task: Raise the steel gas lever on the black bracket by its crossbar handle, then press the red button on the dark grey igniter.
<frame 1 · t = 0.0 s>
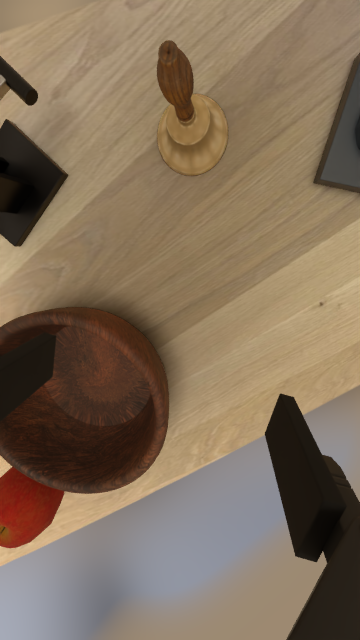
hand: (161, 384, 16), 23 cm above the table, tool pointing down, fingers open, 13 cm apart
hand bell: (192, 137, 33), on the table
apple: (52, 462, 50), on the table
wooden bowl: (98, 373, 44), on the table
bracket: (16, 188, 37), on the table
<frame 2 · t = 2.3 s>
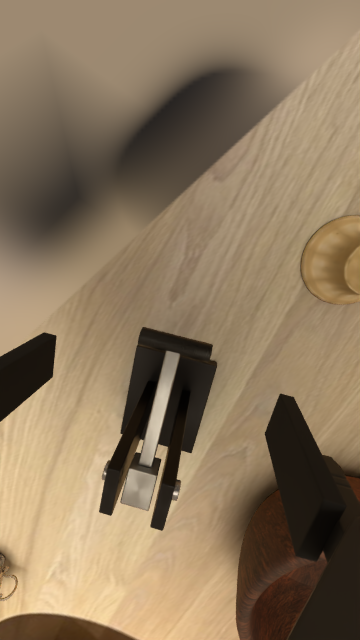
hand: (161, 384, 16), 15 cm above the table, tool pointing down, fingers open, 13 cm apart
hand bell: (345, 261, 27), on the table
wooden bowl: (329, 532, 36), on the table
lever: (157, 417, 22), point 11 cm above the table, hinge at -15.0°
bracket: (167, 396, 33), on the table
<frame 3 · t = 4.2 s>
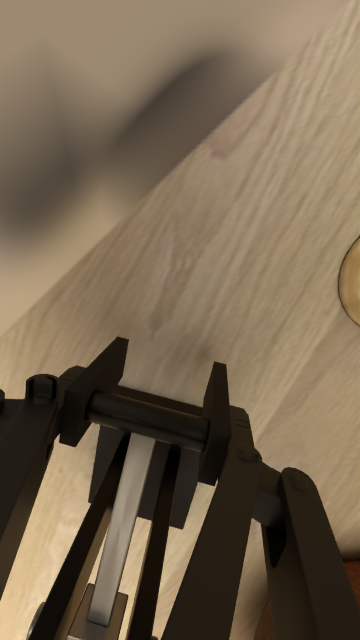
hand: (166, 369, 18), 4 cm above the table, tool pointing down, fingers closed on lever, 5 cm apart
lever: (118, 538, 13), point 11 cm above the table, hinge at -15.0°, touching gripper
bracket: (149, 454, 25), on the table
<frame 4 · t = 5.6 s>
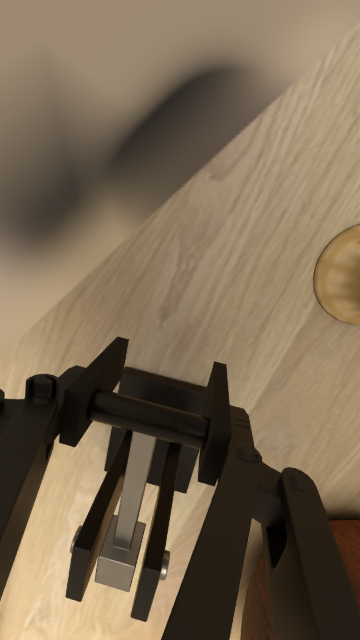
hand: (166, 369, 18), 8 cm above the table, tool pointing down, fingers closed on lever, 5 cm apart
wooden bowl: (344, 581, 32), on the table
lever: (132, 498, 15), point 13 cm above the table, hinge at 6.4°, touching gripper
bracket: (157, 428, 29), on the table
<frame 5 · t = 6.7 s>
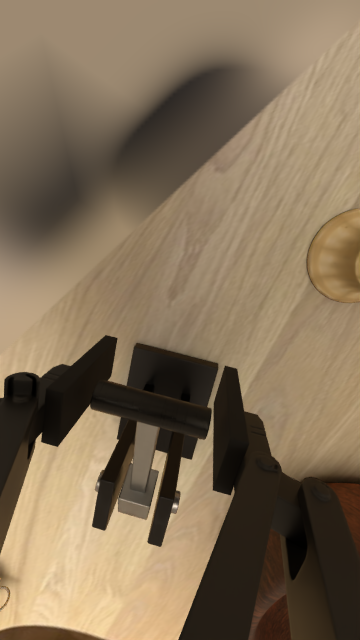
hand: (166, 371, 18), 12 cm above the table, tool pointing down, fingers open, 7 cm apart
hand bell: (354, 257, 26), on the table
wooden bowl: (335, 542, 35), on the table
lever: (143, 461, 17), point 14 cm above the table, hinge at 22.7°
bracket: (166, 400, 32), on the table
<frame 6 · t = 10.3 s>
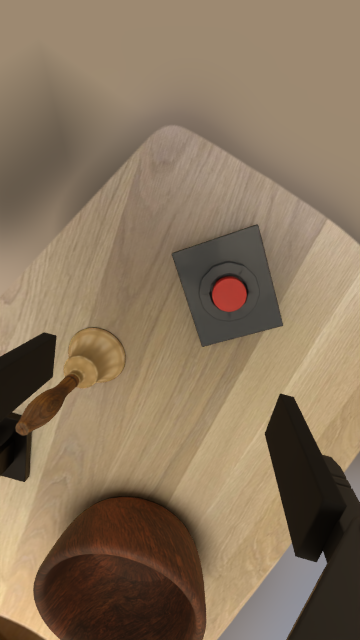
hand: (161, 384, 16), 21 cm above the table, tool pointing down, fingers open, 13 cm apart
igniter: (227, 287, 35), on the table
hand bell: (97, 354, 40), on the table
button: (229, 293, 31), point 4 cm above the table, slide at 0.1 cm
wooden bowl: (136, 538, 49), on the table
bracket: (5, 441, 46), on the table
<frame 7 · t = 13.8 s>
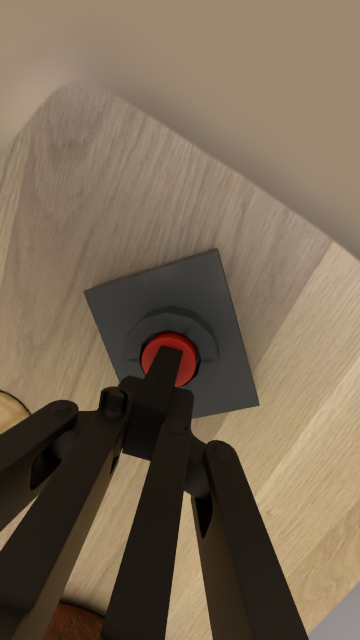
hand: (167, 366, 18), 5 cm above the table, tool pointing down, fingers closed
igniter: (177, 339, 23), on the table
button: (170, 358, 19), point 4 cm above the table, slide at -0.7 cm, touching gripper
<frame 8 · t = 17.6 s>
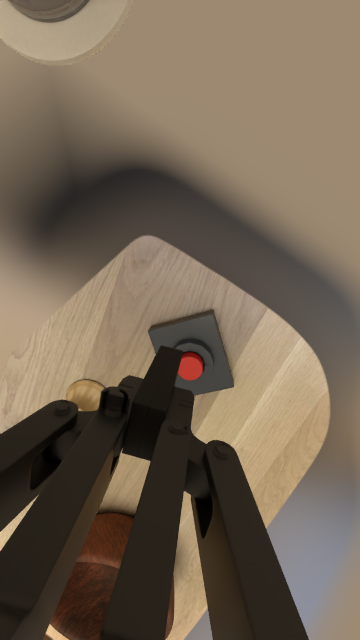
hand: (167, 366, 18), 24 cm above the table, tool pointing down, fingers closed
igniter: (192, 353, 44), on the table
hand bell: (90, 400, 49), on the table
button: (190, 366, 40), point 4 cm above the table, slide at 0.1 cm
wooden bowl: (121, 546, 59), on the table
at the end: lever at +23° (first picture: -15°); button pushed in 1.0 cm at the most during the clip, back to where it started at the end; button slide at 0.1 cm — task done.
